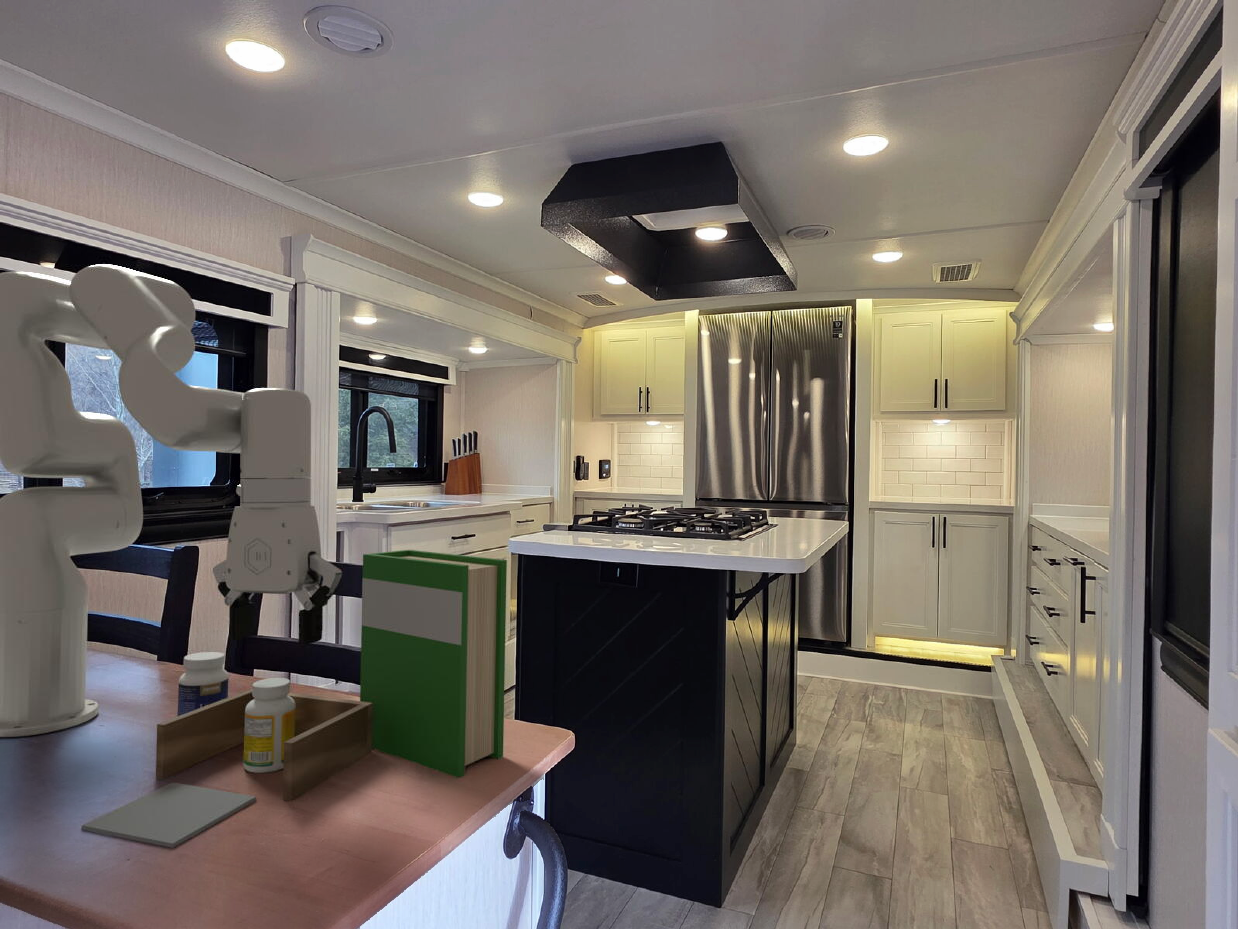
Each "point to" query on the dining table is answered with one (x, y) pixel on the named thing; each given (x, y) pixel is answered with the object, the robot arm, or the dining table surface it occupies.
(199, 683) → the pill bottle
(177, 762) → the wooden u-shaped frame
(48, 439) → the robot arm
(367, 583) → the hardback book
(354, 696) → the dining table surface
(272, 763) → the supplement bottle
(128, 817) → the grey mat
